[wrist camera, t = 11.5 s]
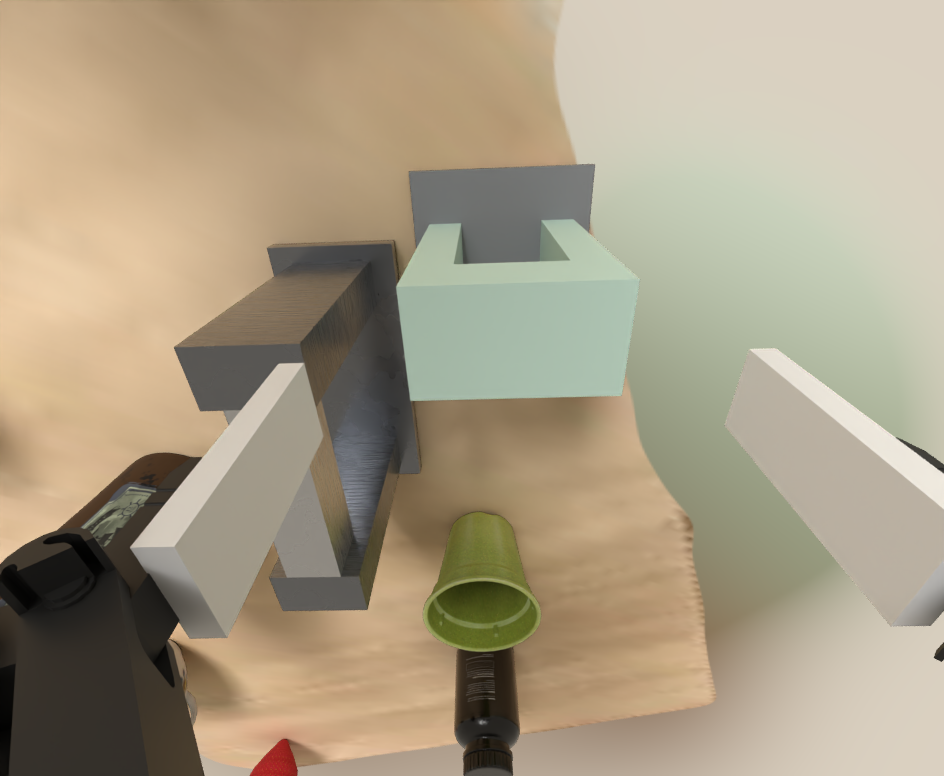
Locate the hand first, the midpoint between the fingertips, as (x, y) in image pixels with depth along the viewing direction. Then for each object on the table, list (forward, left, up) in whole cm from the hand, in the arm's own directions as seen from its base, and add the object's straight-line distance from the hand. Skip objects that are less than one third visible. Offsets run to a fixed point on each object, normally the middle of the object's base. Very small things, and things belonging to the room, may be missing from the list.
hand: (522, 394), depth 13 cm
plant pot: (+26, -2, -18) cm, 32 cm away
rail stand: (+8, -11, -18) cm, 23 cm away
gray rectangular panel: (0, 0, -18) cm, 18 cm away
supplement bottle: (+46, -2, -18) cm, 50 cm away
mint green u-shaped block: (0, 0, -17) cm, 17 cm away
